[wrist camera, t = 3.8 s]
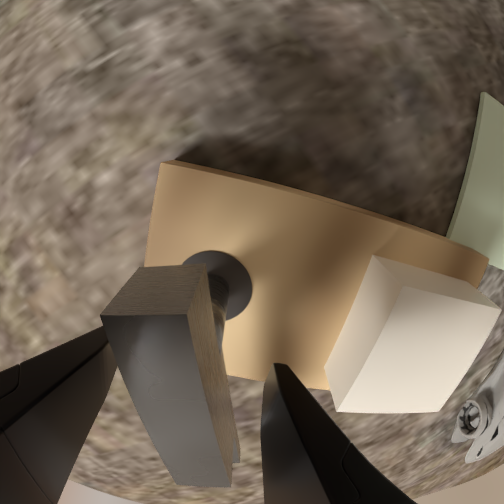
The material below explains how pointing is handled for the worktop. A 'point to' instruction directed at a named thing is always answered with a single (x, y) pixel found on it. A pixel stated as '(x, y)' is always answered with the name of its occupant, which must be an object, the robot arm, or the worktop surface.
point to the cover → (407, 340)
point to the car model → (483, 416)
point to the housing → (284, 261)
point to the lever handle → (178, 367)
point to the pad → (483, 187)
